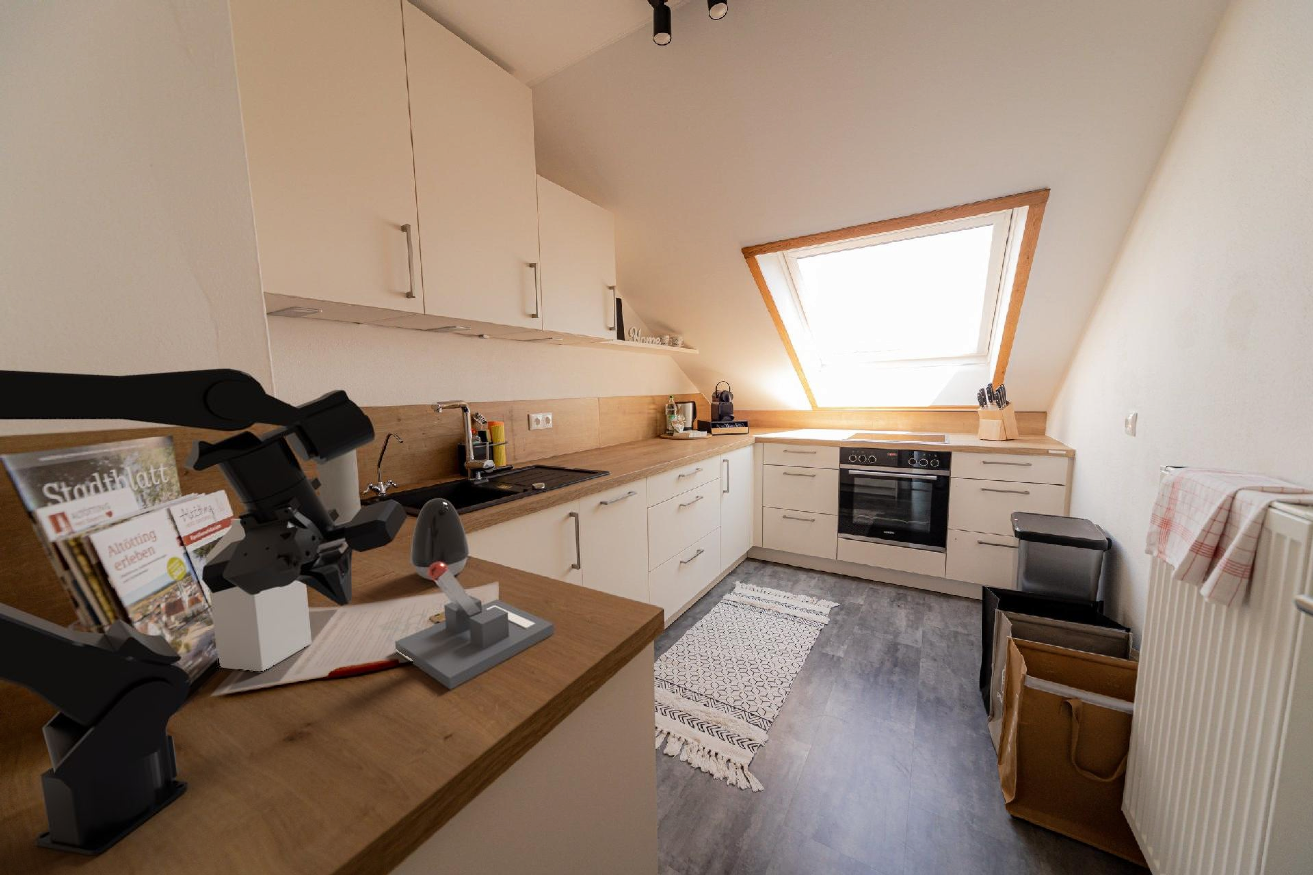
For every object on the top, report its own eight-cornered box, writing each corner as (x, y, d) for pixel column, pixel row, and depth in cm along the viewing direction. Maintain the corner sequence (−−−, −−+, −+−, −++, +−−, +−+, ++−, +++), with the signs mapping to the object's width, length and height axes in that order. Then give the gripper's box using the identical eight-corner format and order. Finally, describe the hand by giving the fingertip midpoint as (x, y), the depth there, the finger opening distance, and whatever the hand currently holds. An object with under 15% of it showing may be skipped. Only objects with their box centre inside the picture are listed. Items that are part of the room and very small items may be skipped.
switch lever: (475, 628, 65) (430, 574, 60) (464, 623, 67) (419, 569, 62) (488, 614, 67) (446, 560, 61) (476, 609, 69) (434, 555, 63)
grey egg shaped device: (421, 591, 85) (415, 508, 83) (406, 574, 93) (400, 498, 91) (478, 575, 92) (473, 498, 90) (459, 561, 99) (455, 490, 98)
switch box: (450, 689, 57) (447, 650, 56) (395, 651, 65) (393, 617, 65) (553, 633, 69) (552, 600, 69) (497, 607, 78) (495, 578, 77)
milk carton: (262, 673, 61) (246, 529, 59) (217, 668, 62) (201, 526, 60) (312, 644, 67) (300, 514, 65) (271, 639, 69) (258, 512, 67)
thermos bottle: (353, 530, 122) (344, 422, 119) (369, 535, 118) (360, 423, 115) (318, 539, 116) (307, 425, 113) (333, 544, 111) (323, 426, 109)
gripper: (109, 560, 40) (215, 685, 47) (330, 501, 42) (405, 630, 48) (202, 497, 51) (279, 607, 57) (377, 451, 52) (434, 563, 58)
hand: (346, 602), depth 55 cm, fingers closed
